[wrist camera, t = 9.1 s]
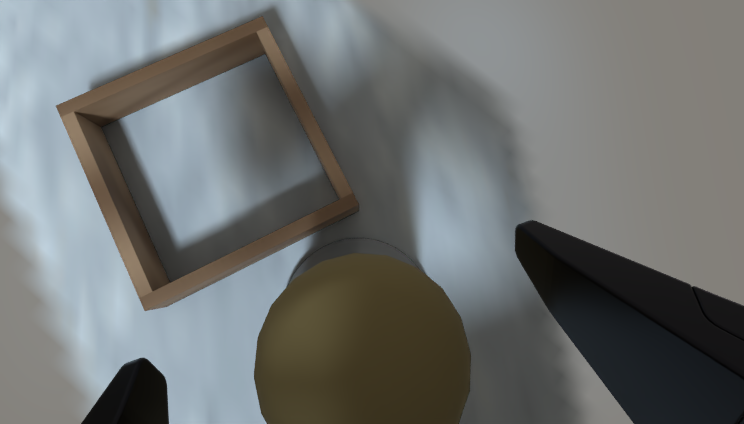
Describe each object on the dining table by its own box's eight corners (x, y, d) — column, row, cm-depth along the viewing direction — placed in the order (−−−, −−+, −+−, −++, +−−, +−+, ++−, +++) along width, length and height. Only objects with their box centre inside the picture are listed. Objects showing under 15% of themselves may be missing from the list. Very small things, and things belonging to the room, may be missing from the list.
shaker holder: (358, 210, 20) (358, 204, 18) (166, 306, 19) (144, 311, 17) (271, 39, 21) (262, 16, 19) (84, 121, 20) (55, 105, 18)
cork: (365, 227, 20) (377, 173, 9) (449, 322, 19) (570, 389, 8) (268, 311, 19) (153, 365, 8) (352, 413, 19) (349, 613, 8)
